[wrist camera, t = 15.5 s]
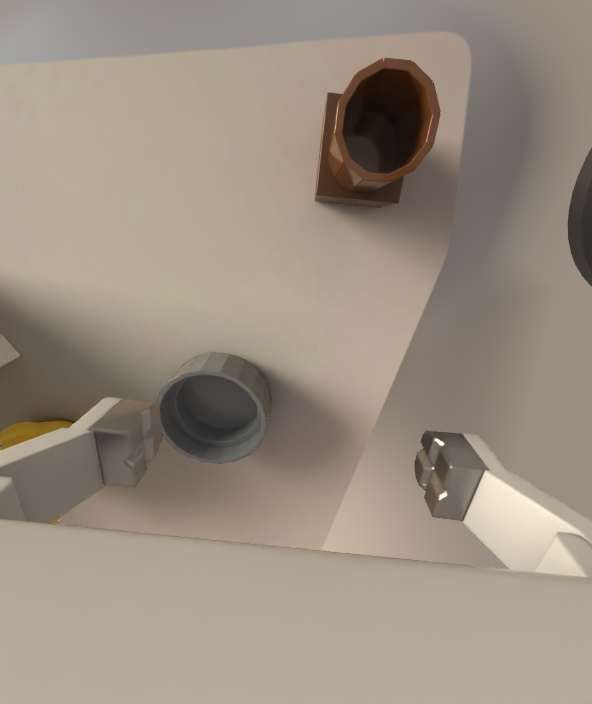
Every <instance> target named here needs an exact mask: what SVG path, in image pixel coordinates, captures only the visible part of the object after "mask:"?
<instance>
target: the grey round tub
mask: <svg viewBox="0 0 592 704" xmlns="http://www.w3.org/2000/svg"><path fill="white" fill-rule="evenodd" d="M270 403H271V395H270V391H269V388H268V384H267V382H266V381H265V379H264V378H263V376H262V375H261V374H260V372H259V371H258V370H257V369H256V368H255V367H253V366H252V365H251V364H250V363H248V362H247V361H245V360H243V359H241V358H238V357H236V356H234V355H231V354H223V353H208V354H203V355H198V356H196V357H194V358H193V359H191V360H189V361H188V362H186V363H185V364H184V365H183V366H182V367H181V368H180V369H179V370H178V372H177V373H176V374H175V375H174V376H173V377H172V378H171V380H170V381H169V382H168V383H167V384H166V386H165V387H164V388H163V389H162V390H161V392H160V393H159V396H158V399H157V404H158V405H159V406H160V413H161V416H160V417H159V418H158V420H157V422H158V423H159V425H160V426H161V427H162V435H163V436H164V437H165V439H166V440H167V441H168V442H169V443H170V444H171V445H172V446H173V447H174V448H175V449H176V450H178V451H179V452H181V453H183V454H184V455H186V456H187V457H189V458H192V459H195V460H198V461H201V462H204V463H214V464H223V463H229V462H235V461H238V460H240V459H242V458H244V457H246V456H248V455H250V454H251V453H252V452H253V451H254V450H255V449H256V448H257V447H258V446H259V445H260V443H261V441H262V439H263V437H264V435H265V432H266V427H267V422H268V417H269V412H270Z"/></svg>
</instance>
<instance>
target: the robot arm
mask: <svg viewBox="0 0 592 704" xmlns="http://www.w3.org/2000/svg"><path fill="white" fill-rule="evenodd" d="M160 416H161V413H160V406H159V405H158V404H157V403H153V402H145V401H137V400H129V399H121V398H110V397H108V398H104V399H102V400H101V401H100V402H99V403H98V404H97V405H95V406H94V407H93V408H92V409H91V410H89V411H88V412H87V413H86V414H85V415H84V416H82V417H81V418H80V419H79V420H78V421H77V422H75V423H74V424H73V425H72V426H71V427H69V428H61V429H58V430H55V431H53V432H50V433H47V434H44V435H42V436H39V437H36V438H33V439H31V440H28V441H25V442H22V443H20V444H17V445H14V446H11V447H9V448H6V449H3V450H0V704H592V520H591V519H590V518H588V517H586V516H585V515H583V514H581V513H579V512H578V511H576V510H575V509H573V508H572V507H570V506H568V505H566V504H565V503H563V502H562V501H560V500H558V499H557V498H555V497H553V496H552V495H550V494H548V493H547V492H545V491H543V490H542V489H540V488H538V487H537V486H535V485H534V484H532V483H530V482H528V481H527V480H525V479H524V478H522V477H520V476H519V475H517V474H515V473H509V471H508V470H507V469H506V468H505V466H504V465H503V464H502V463H501V462H500V460H499V459H498V458H497V457H496V455H495V454H494V453H493V452H492V450H491V449H490V448H489V447H488V446H487V444H486V443H485V442H484V441H483V440H482V438H481V437H480V436H478V435H476V434H464V433H448V432H436V431H425V433H424V434H423V436H422V439H421V443H422V445H423V447H424V448H423V449H422V450H421V451H419V452H418V453H417V455H416V459H415V475H416V479H417V482H418V484H419V486H421V487H422V488H423V489H424V490H425V491H426V493H425V496H424V499H425V501H426V503H427V506H428V508H429V510H430V513H431V515H432V517H436V518H443V519H451V520H459V521H463V523H464V524H465V525H466V526H467V527H468V528H469V529H470V530H471V531H472V532H473V533H474V534H475V535H476V536H477V537H478V538H479V539H480V540H481V541H482V542H483V543H484V544H485V545H486V546H487V547H488V548H489V549H490V550H491V551H492V552H493V553H494V554H495V555H496V556H497V557H498V558H499V559H500V560H501V561H502V562H503V563H504V564H505V565H506V566H507V567H508V568H509V569H500V568H490V567H479V566H468V565H458V564H448V563H438V562H428V561H419V560H409V559H399V558H389V557H379V556H369V555H360V554H350V553H338V552H330V551H320V550H310V549H300V548H290V547H279V546H269V545H259V544H249V543H239V542H229V541H219V540H209V539H198V538H188V537H178V536H168V535H158V534H148V533H138V532H128V531H118V530H108V529H98V528H88V527H78V526H68V525H58V524H49V523H51V522H52V521H54V520H55V519H57V518H58V517H59V516H61V515H62V514H64V513H65V512H67V511H68V510H70V509H71V508H73V507H74V506H76V505H77V504H79V503H80V502H82V501H83V500H85V499H86V498H88V497H89V496H91V495H92V494H94V493H95V492H97V491H98V490H100V489H101V488H103V487H104V485H110V486H124V487H136V485H137V484H138V482H139V480H140V479H141V477H142V476H143V474H144V473H145V471H146V470H147V467H146V463H147V462H148V461H150V460H152V459H154V458H155V456H156V454H157V453H158V451H159V448H160V445H161V442H162V427H161V426H160V425H159V423H158V422H157V420H158V418H159V417H160Z"/></svg>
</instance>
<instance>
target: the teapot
mask: <svg viewBox="0 0 592 704" xmlns="http://www.w3.org/2000/svg"><path fill="white" fill-rule="evenodd" d="M72 425H73V423H71V422H68V421H46V422H39V423H34V422H21V423H17V424H14V425H12V426H10V427H8V428H6V429H5V430H3V431H1V432H0V444H1V443H4V442H5V443H4V444H3V445H2V446H1V448H0V450H3V449H6V448H9V447H11V446H14V445H17V444H20V443H22V442H25V441H28V440H31V439H33V438H36V437H39V436H42V435H44V434H47V433H50V432H53V431H55V430H58V429H61V428H69V427H71V426H72ZM60 517H61V516H59V517H58V518H57V519H55V520H54V521H52V522H51V523H49V524H54V523H55V522H57V521H58V519H59V518H60Z"/></svg>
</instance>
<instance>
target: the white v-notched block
mask: <svg viewBox="0 0 592 704" xmlns="http://www.w3.org/2000/svg"><path fill="white" fill-rule="evenodd" d="M20 356H21V355H20V354H19V353H18V352H17V351H16V350H15V349H14V348H13V347H12V345H11V344H10V343H9V342H8V341H7V340H6V339H5V338H4V337H3V336H2V334H1V333H0V368H1V367H2V366H4V365H6V364H8V363H9V362H11V361H13V360H14V359H16V358H18V357H20Z"/></svg>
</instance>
